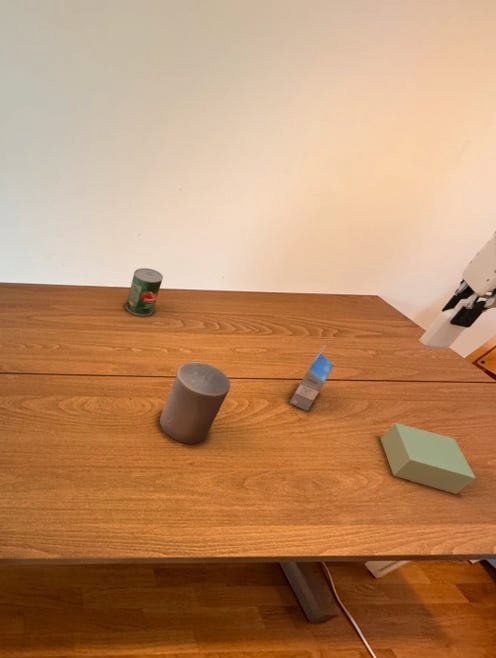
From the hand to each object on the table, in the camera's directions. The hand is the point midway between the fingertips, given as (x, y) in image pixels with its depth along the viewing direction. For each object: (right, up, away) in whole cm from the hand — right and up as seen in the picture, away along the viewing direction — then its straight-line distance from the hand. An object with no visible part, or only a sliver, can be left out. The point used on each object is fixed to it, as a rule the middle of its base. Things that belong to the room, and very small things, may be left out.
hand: (455, 318), depth 86 cm
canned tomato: (-54, +6, +37) cm, 66 cm away
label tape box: (-24, -17, +11) cm, 32 cm away
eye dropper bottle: (0, -5, +4) cm, 7 cm away
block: (-11, -29, -3) cm, 31 cm away
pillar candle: (-55, -23, +2) cm, 60 cm away
